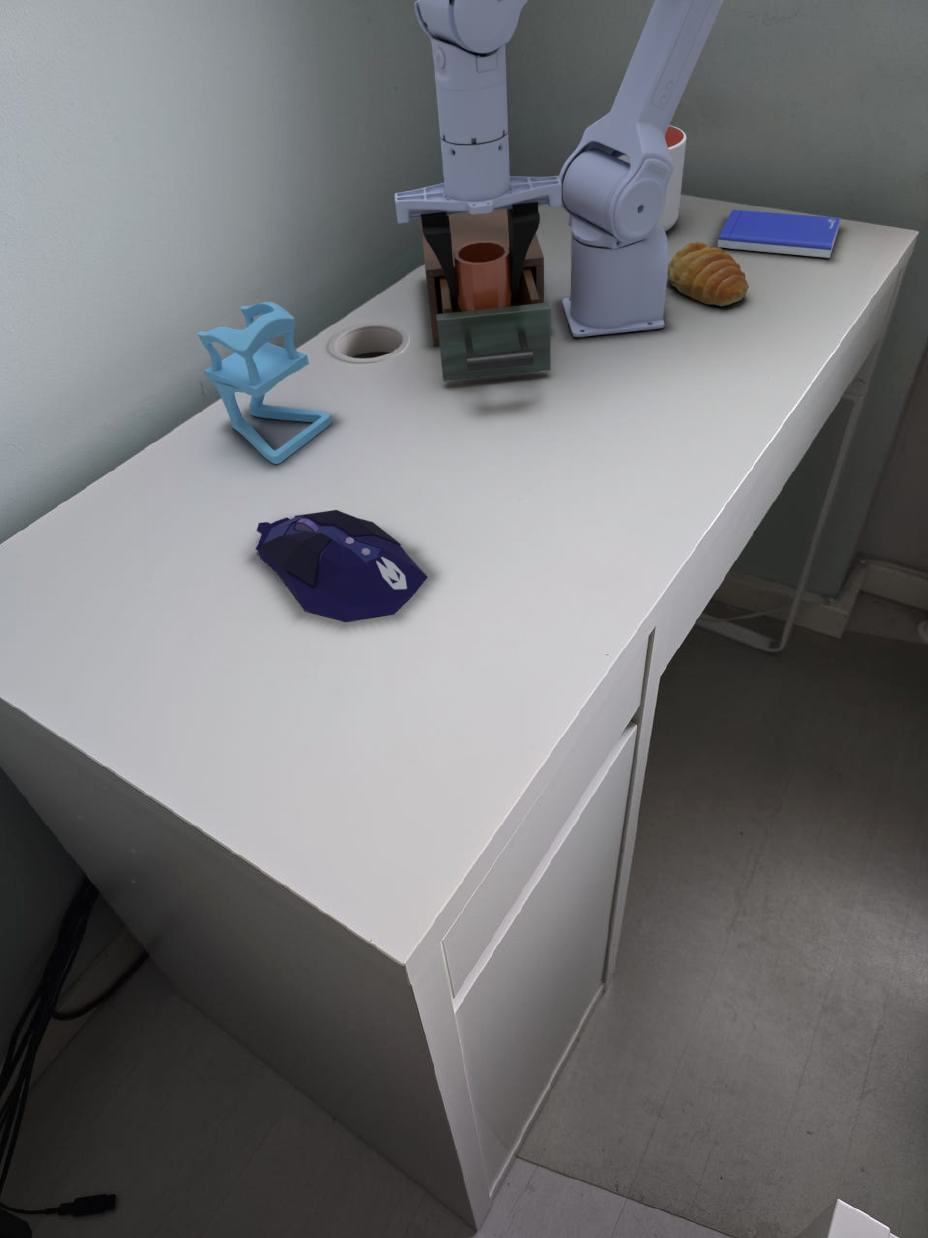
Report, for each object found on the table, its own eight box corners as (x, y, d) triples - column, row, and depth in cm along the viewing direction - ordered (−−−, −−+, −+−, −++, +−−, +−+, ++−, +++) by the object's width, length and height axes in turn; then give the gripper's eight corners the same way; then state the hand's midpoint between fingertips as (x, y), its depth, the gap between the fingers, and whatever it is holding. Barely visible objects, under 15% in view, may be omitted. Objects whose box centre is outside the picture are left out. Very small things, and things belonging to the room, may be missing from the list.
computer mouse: (372, 640, 62) (363, 600, 59) (220, 574, 68) (205, 535, 65) (442, 562, 67) (437, 522, 65) (295, 507, 74) (285, 468, 71)
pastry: (763, 299, 92) (769, 263, 89) (710, 317, 91) (714, 281, 88) (708, 266, 98) (712, 232, 96) (658, 282, 97) (660, 248, 94)
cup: (674, 207, 110) (683, 120, 103) (680, 241, 103) (689, 150, 96) (594, 210, 111) (597, 124, 104) (595, 243, 105) (598, 154, 97)
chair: (270, 399, 86) (239, 281, 77) (334, 422, 82) (308, 301, 73) (213, 439, 82) (173, 318, 73) (277, 465, 78) (243, 342, 69)
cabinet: (544, 334, 91) (543, 257, 85) (433, 345, 91) (425, 269, 85) (527, 272, 101) (525, 199, 95) (427, 283, 101) (419, 211, 95)
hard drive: (841, 215, 101) (733, 207, 105) (832, 245, 96) (718, 235, 100) (838, 229, 102) (731, 220, 106) (829, 259, 97) (717, 248, 101)
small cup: (508, 288, 85) (506, 237, 82) (514, 314, 82) (512, 261, 78) (456, 294, 85) (452, 243, 82) (460, 319, 82) (455, 267, 78)
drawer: (558, 397, 81) (558, 334, 76) (446, 409, 81) (439, 346, 76) (532, 304, 93) (531, 245, 89) (436, 314, 93) (430, 256, 89)
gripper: (388, 158, 70) (408, 317, 80) (568, 139, 70) (566, 301, 80) (387, 130, 75) (406, 283, 85) (555, 112, 75) (554, 267, 85)
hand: (483, 289), depth 83 cm, fingers closed on small cup, 5 cm apart
